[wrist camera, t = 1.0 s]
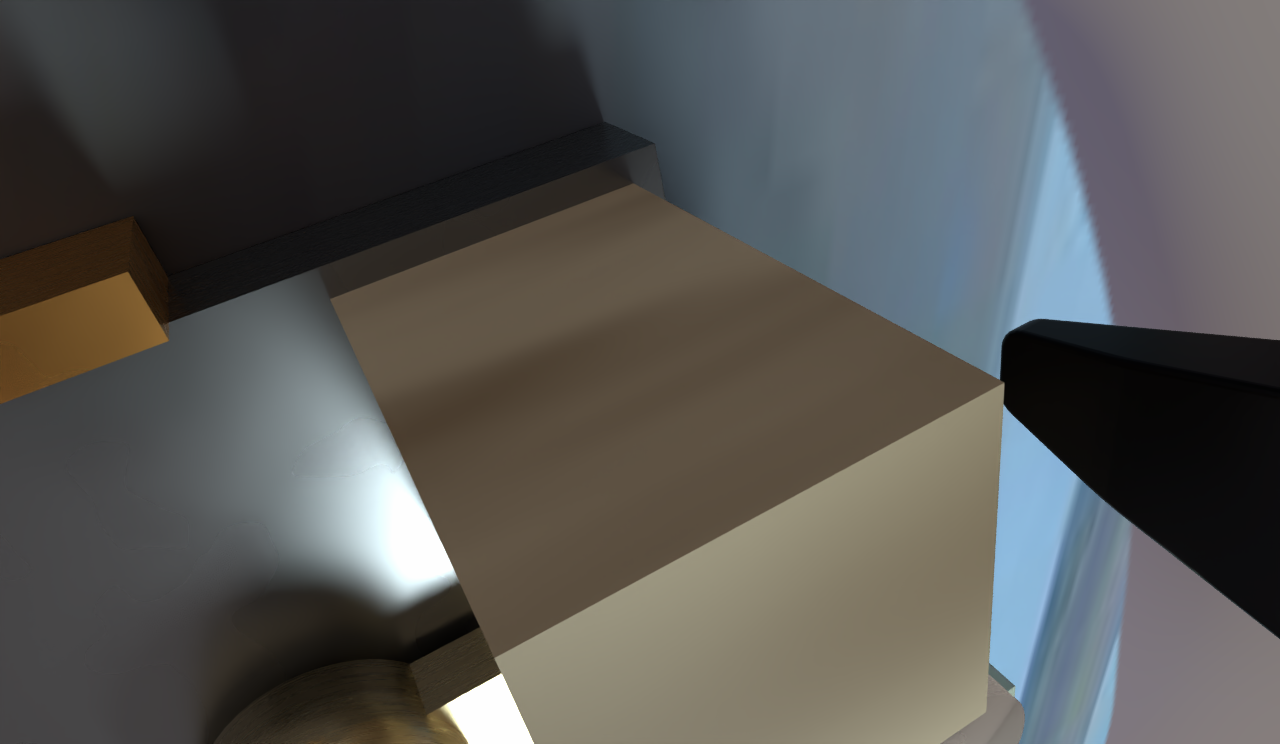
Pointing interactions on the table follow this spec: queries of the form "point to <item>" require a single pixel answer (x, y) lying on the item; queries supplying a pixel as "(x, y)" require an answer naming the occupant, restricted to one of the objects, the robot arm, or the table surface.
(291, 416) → the crank base
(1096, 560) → the table surface
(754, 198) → the table surface
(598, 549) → the block
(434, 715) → the crank
